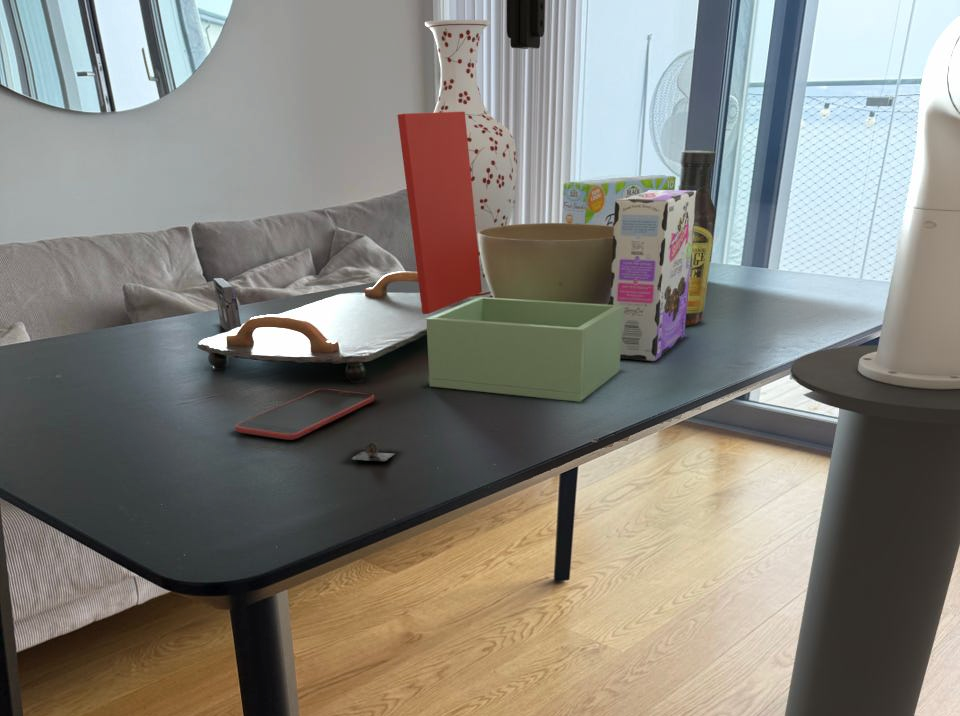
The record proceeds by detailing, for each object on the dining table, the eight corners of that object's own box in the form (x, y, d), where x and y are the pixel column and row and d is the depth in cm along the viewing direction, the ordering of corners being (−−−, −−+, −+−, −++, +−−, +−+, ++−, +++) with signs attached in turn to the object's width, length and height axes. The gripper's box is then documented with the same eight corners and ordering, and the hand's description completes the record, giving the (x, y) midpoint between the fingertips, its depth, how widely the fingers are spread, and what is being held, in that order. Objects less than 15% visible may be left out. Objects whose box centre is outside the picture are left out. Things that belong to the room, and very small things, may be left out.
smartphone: (378, 394, 89) (293, 435, 79) (379, 400, 90) (294, 441, 79) (319, 387, 92) (230, 426, 81) (320, 393, 92) (231, 432, 82)
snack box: (584, 291, 140) (588, 182, 132) (558, 287, 144) (560, 181, 136) (669, 274, 152) (677, 173, 145) (643, 271, 156) (649, 172, 148)
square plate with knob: (361, 451, 77) (361, 437, 76) (395, 454, 76) (394, 439, 76) (350, 459, 74) (349, 445, 74) (384, 462, 74) (384, 447, 73)
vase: (522, 286, 146) (522, 23, 128) (511, 304, 132) (509, 14, 114) (424, 286, 148) (410, 28, 130) (403, 304, 134) (385, 19, 116)
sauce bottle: (650, 326, 117) (662, 152, 107) (658, 317, 122) (670, 149, 112) (702, 328, 115) (719, 151, 105) (707, 319, 120) (724, 149, 110)
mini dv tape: (242, 335, 118) (234, 286, 115) (230, 336, 118) (222, 287, 115) (231, 323, 125) (224, 277, 122) (220, 324, 125) (213, 278, 121)
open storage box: (619, 371, 98) (623, 305, 94) (580, 402, 88) (582, 329, 85) (480, 359, 104) (479, 296, 101) (429, 386, 94) (426, 318, 91)
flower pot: (579, 359, 103) (583, 243, 97) (451, 341, 112) (447, 235, 106) (649, 329, 116) (656, 225, 109) (529, 316, 125) (530, 219, 119)
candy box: (656, 363, 101) (667, 198, 92) (605, 359, 103) (612, 198, 94) (686, 337, 111) (699, 187, 103) (639, 334, 113) (648, 187, 105)
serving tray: (354, 310, 131) (350, 264, 128) (501, 319, 123) (501, 270, 120) (178, 374, 101) (167, 316, 98) (359, 392, 93) (353, 329, 90)
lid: (465, 111, 92) (458, 112, 92) (404, 113, 82) (396, 114, 83) (482, 292, 100) (475, 292, 101) (429, 313, 90) (422, 314, 91)
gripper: (422, -227, 72) (432, 49, 81) (603, -258, 66) (591, 42, 75) (463, -203, 78) (468, 52, 87) (632, -229, 72) (618, 46, 81)
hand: (525, 47), depth 81 cm, fingers closed
